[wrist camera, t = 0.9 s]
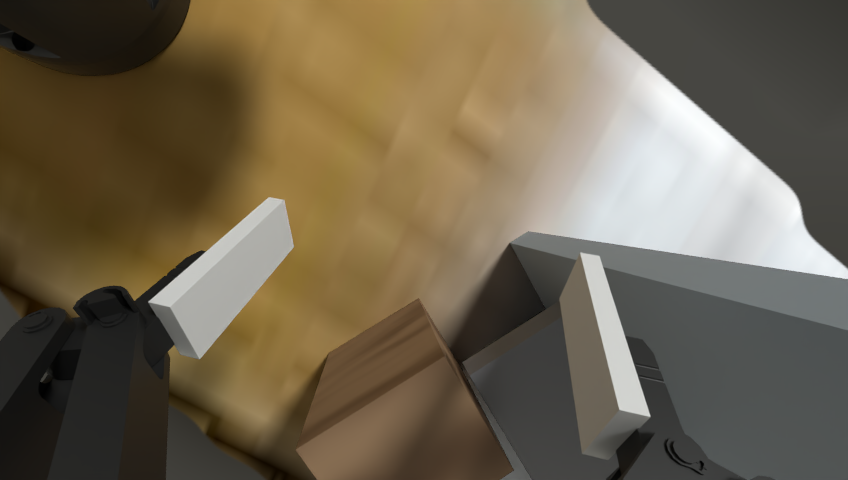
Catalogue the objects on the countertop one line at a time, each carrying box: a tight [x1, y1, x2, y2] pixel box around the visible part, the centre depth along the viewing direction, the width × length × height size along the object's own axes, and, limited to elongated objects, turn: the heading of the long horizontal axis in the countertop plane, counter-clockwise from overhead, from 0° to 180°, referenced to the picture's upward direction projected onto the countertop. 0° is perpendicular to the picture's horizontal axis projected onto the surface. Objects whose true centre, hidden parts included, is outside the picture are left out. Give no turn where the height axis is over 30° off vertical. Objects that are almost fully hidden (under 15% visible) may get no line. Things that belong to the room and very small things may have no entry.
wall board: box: [462, 231, 848, 480], centre depth 19 cm, size 22×11×26 cm, turn 30°
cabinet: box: [296, 298, 514, 480], centre depth 24 cm, size 8×10×12 cm
